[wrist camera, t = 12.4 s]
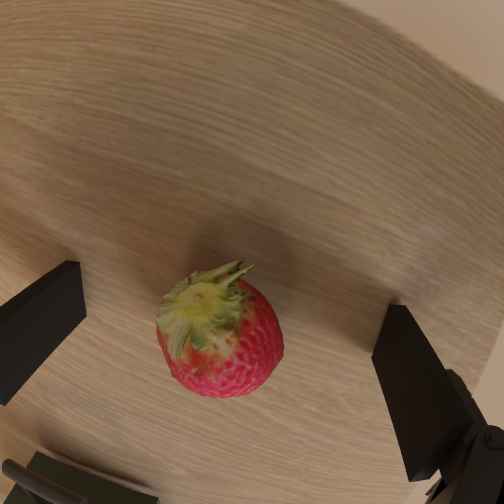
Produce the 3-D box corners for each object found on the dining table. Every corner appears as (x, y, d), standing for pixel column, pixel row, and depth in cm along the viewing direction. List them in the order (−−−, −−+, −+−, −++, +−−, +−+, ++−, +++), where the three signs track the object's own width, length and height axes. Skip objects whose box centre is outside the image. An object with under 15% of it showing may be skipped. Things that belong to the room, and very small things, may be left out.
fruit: (197, 371, 14) (166, 455, 9) (164, 248, 12) (102, 311, 8) (290, 368, 14) (289, 460, 9) (275, 236, 12) (270, 303, 7)
